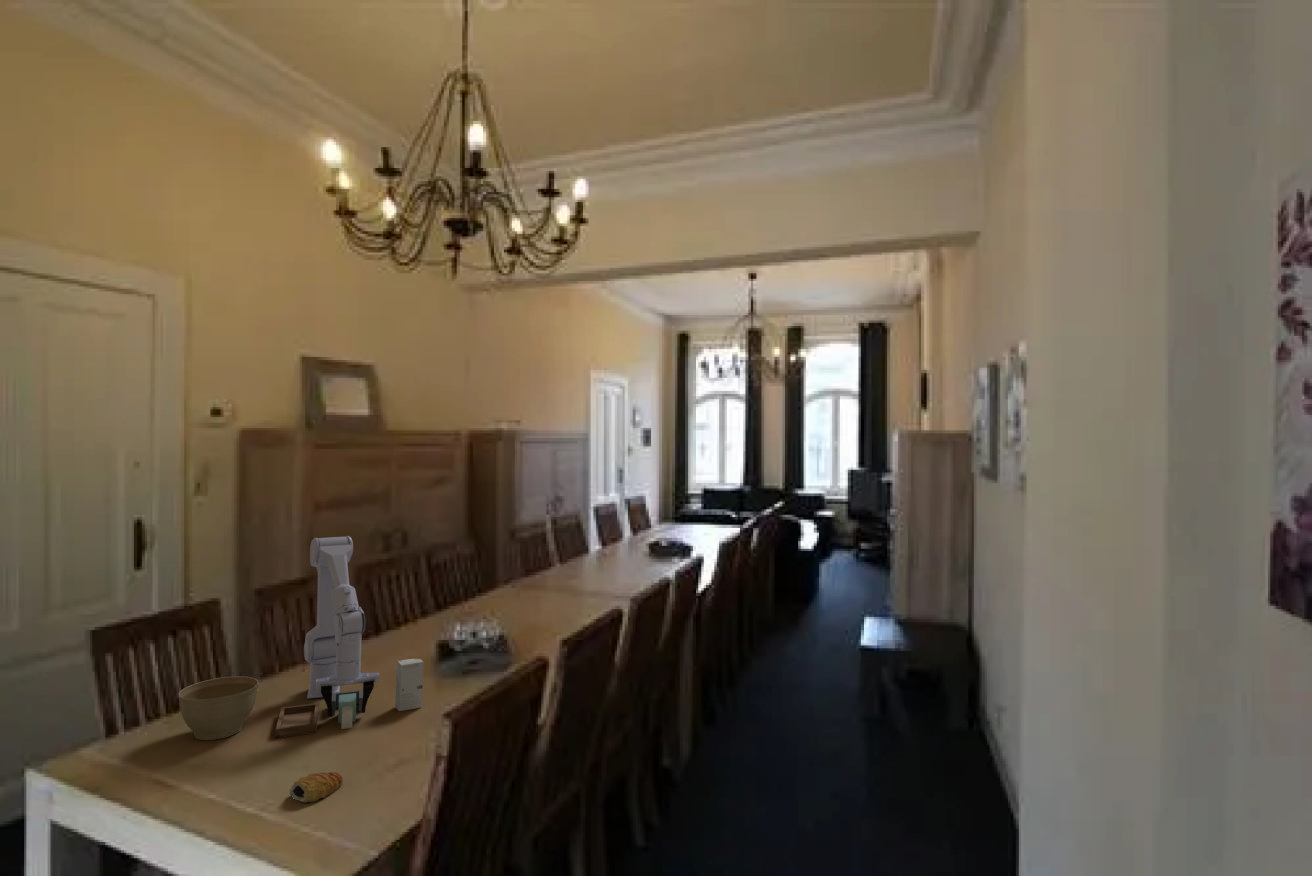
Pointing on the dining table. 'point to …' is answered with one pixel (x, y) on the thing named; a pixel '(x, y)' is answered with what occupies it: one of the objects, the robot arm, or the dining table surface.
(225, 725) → the planter bowl
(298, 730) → the tray
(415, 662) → the skincare box
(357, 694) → the bay
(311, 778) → the pastry
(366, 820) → the dining table surface
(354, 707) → the stacked two-tone block
